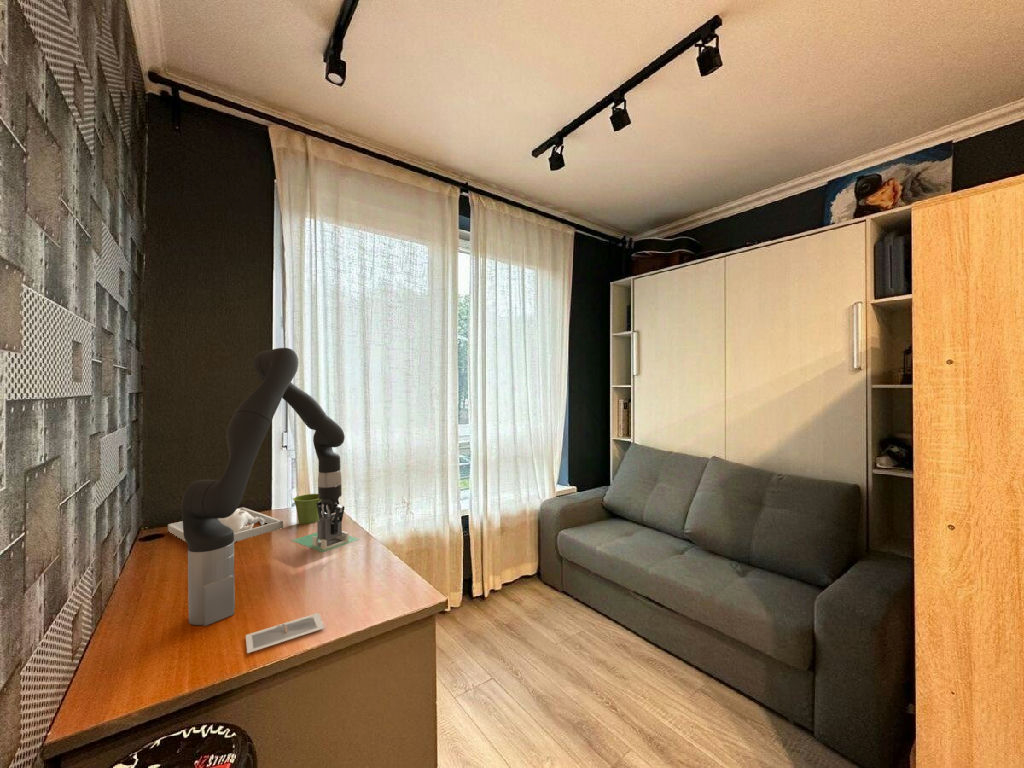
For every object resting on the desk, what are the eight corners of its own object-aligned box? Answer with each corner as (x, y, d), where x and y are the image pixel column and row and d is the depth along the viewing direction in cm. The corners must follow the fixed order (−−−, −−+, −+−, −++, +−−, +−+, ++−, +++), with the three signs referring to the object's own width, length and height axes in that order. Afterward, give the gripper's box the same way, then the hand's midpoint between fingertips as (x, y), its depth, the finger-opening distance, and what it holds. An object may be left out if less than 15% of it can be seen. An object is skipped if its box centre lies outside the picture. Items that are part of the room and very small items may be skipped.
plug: (341, 535, 144) (341, 515, 144) (322, 541, 139) (322, 521, 139) (335, 533, 147) (335, 513, 147) (315, 539, 141) (315, 519, 141)
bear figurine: (265, 533, 170) (216, 521, 168) (272, 503, 168) (223, 491, 167) (239, 556, 153) (185, 542, 151) (247, 523, 151) (192, 508, 150)
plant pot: (327, 525, 167) (327, 497, 167) (295, 531, 160) (294, 502, 160) (322, 517, 177) (322, 491, 177) (291, 523, 170) (291, 496, 170)
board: (359, 543, 147) (359, 530, 147) (322, 557, 135) (322, 543, 135) (328, 532, 158) (327, 521, 158) (291, 544, 147) (291, 531, 147)
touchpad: (325, 632, 94) (325, 623, 94) (247, 658, 85) (247, 648, 85) (318, 617, 100) (318, 608, 100) (245, 639, 92) (245, 630, 92)
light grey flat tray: (283, 528, 164) (283, 520, 164) (202, 551, 142) (202, 542, 142) (243, 514, 184) (243, 507, 184) (167, 532, 162) (167, 524, 162)
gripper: (308, 483, 144) (309, 532, 144) (331, 488, 136) (332, 540, 136) (328, 479, 150) (329, 526, 150) (351, 484, 142) (352, 533, 142)
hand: (330, 532), depth 143 cm, fingers closed on plug, 4 cm apart
